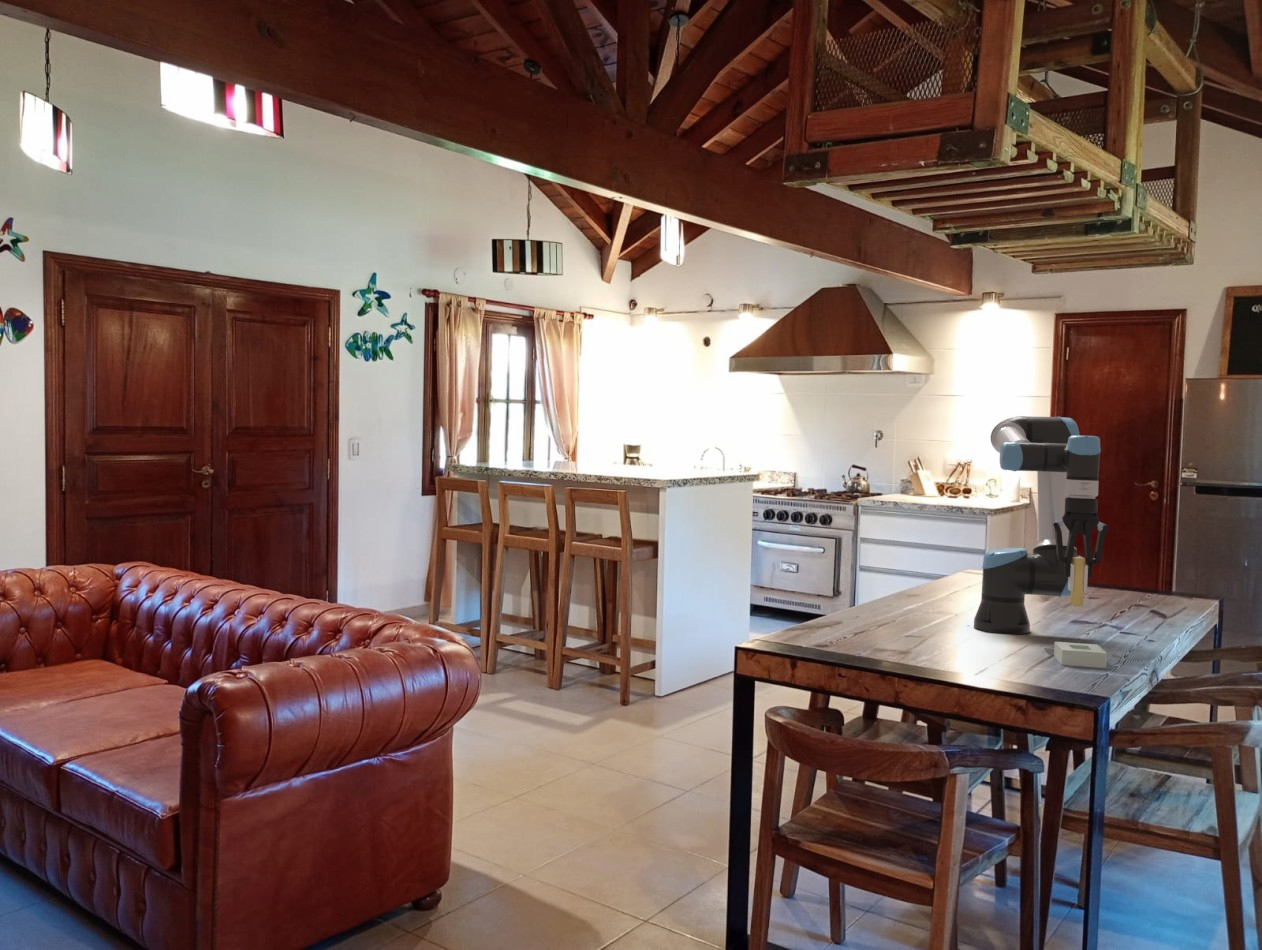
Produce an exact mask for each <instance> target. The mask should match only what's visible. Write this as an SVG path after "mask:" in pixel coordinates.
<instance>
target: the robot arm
mask: <svg viewBox="0 0 1262 950" xmlns="http://www.w3.org/2000/svg"><path fill="white" fill-rule="evenodd" d="M990 442H991V445H992V447H993V449H994V450H995V451H996V452H998V453H999V465H1000V469H1001V470H1003V471H1012V472H1018V471H1019V472H1036V473H1037V475H1036V478H1037V518H1038V519H1037V522H1038V525H1037V528H1038V536H1037V537H1038V544H1036V545H1035V546H1034V547H1033V550H1032V553H1028V550H1027V548H1025V547H1003V548H994V549H990V550H987V551H986V552H985V553H984V555H983V561H982V566H981V568H982V578H981V579H982V582H981V598H980V599H981V600H980V603H979V605H978V608H977V611H976V613H975V616H974V619H973V628H975V629H977V630H980V631H983V632H987V633H995V634H1005V635H1022V634H1028V633H1030V629H1031V623H1030V619H1029V615H1028V613H1027V610H1026V605H1025V598H1026V595H1029V596H1030V595H1031V596H1032V595H1033V596H1044V597H1045V596H1046V597H1047V596H1048V597H1049V596H1050V597H1058V598H1061V597H1062V598H1064V597H1065V598H1066V597H1069V598H1070V596H1071V591H1073V585H1074V565H1072V557H1081V558H1085V565H1084V587H1083V591H1084V593H1085V592H1088V579H1091V578H1092V577H1093V566H1094V565H1097V564H1100V563H1101V562H1102V555H1103V552H1104V545H1105V539H1106V534H1107V533H1108V532H1109V530H1110V526H1109V524H1105V523H1103V522H1101V521H1100V519H1099V517H1098V509H1099V508H1098V505H1099V500H1098V498H1096V497H1098V496H1099V481H1100V480H1099V477H1100V461H1101V460H1100V458H1101V452H1102V448H1101V439H1100V437H1099V436H1096V435H1080V430H1079V427H1078V424H1077V422H1076V421H1075V420H1074V419H1073V418H1071V417H1062V416H1024V415H1021V416H1020V415H1019V416H1012V417H1009V418H1007V419H1004V420H1002V421H1000V422H999V423H997V424H996V425H995V426H994V428H993V429H992V431H991V433H990ZM1096 527H1097V528H1096ZM1095 528H1096V529H1097V531H1098V532H1097V537H1096V538H1097V539H1096V544H1095V548H1094V555H1093V547H1092V532H1093V530H1095ZM1080 534H1082V538H1083V545H1084V556H1085V557H1083V556H1081V555H1078V549H1077V547H1075V545H1076V539H1077V535H1080Z"/></svg>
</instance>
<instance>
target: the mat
mask: <svg viewBox="0 0 1262 950" xmlns="http://www.w3.org/2000/svg"><path fill="white" fill-rule="evenodd" d="M1043 649H1044V651H1045V652H1046V653H1047V654H1048V655H1049V656H1050V655H1051V656H1054V648H1052V647H1051V648H1047V647H1043Z"/></svg>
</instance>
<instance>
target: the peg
mask: <svg viewBox="0 0 1262 950" xmlns="http://www.w3.org/2000/svg"><path fill="white" fill-rule="evenodd" d="M1081 557H1082V556H1081ZM1081 557H1072V565H1074V585H1073V591H1071V596H1070V597H1069V599H1070V601H1069V606H1073V607H1083V606H1084V598H1085V597H1084V595H1085V594H1084V593H1085V592H1084V591H1083V587H1084V565H1086V559H1085V557H1083V558H1081Z"/></svg>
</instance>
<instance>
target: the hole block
mask: <svg viewBox="0 0 1262 950" xmlns="http://www.w3.org/2000/svg"><path fill="white" fill-rule="evenodd" d="M1053 649H1054V655H1053V657H1054V658H1055V659H1056V660H1057V661H1058V662H1059V664H1060V665H1061V666H1070V667H1083V668H1084V667H1087V668H1096V669H1097V668H1099V669H1107V659H1108V652H1106V651H1105V650H1104V649H1103V648H1102V647H1101V646H1100V645H1098V644H1097V643H1095V644H1094V643H1081V642H1067V641H1054V648H1053Z"/></svg>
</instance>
